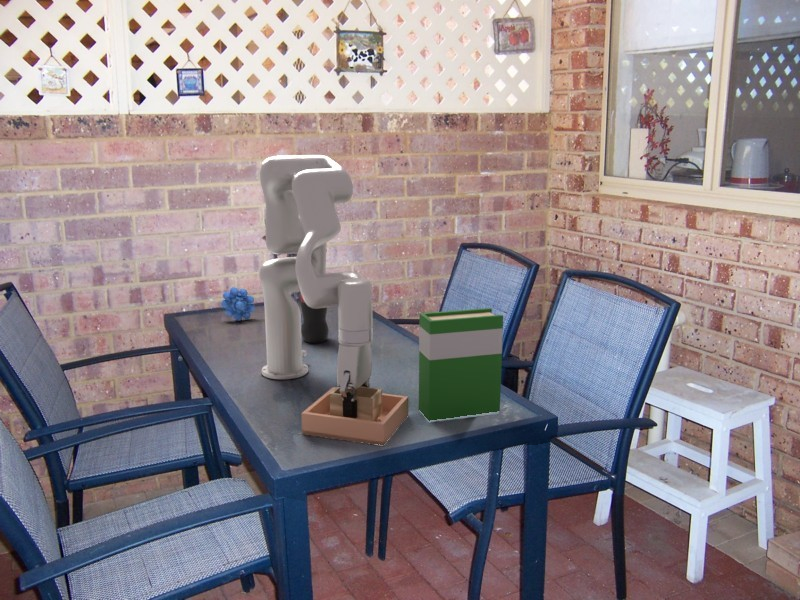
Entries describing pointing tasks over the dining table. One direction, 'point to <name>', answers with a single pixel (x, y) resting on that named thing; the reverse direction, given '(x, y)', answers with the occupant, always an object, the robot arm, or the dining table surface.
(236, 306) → the blue flower
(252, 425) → the dining table surface
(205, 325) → the dining table surface
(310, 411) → the terracotta crate
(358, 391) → the pine crate
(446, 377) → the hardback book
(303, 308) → the cola bottle
